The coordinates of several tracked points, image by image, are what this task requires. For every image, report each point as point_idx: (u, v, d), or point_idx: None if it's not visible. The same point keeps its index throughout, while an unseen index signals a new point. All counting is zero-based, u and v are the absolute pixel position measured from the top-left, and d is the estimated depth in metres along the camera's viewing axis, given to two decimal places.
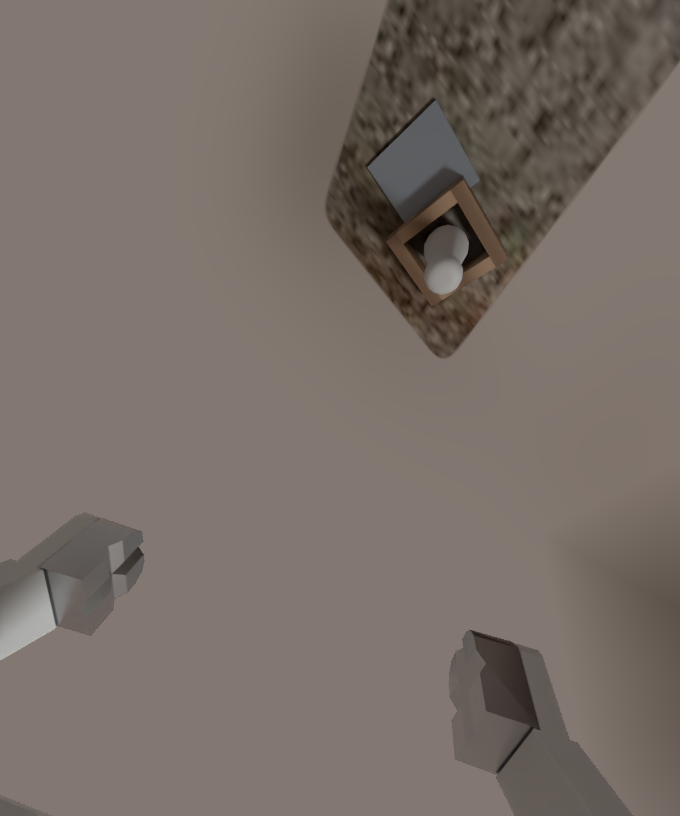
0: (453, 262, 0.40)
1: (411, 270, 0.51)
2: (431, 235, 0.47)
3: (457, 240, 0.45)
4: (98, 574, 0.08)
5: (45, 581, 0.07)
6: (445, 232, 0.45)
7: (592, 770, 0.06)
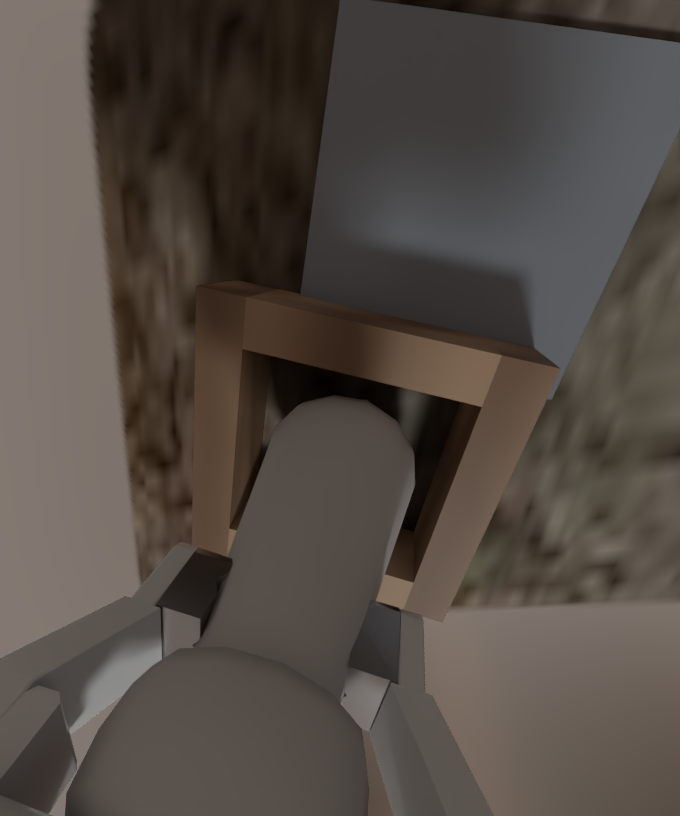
0: None
1: (206, 431, 0.14)
2: (336, 410, 0.12)
3: (395, 522, 0.11)
4: (210, 610, 0.07)
5: (160, 619, 0.07)
6: (380, 453, 0.11)
7: (440, 719, 0.06)
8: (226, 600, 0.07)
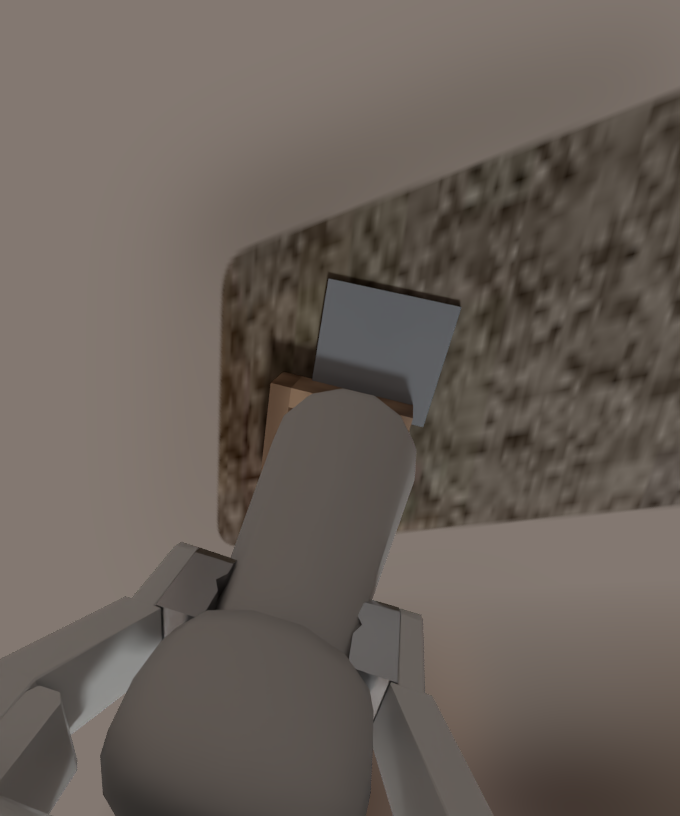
0: None
1: (270, 441, 0.31)
2: (345, 403, 0.13)
3: (397, 511, 0.11)
4: None
5: (161, 619, 0.07)
6: (387, 446, 0.12)
7: (440, 719, 0.06)
8: (245, 571, 0.07)
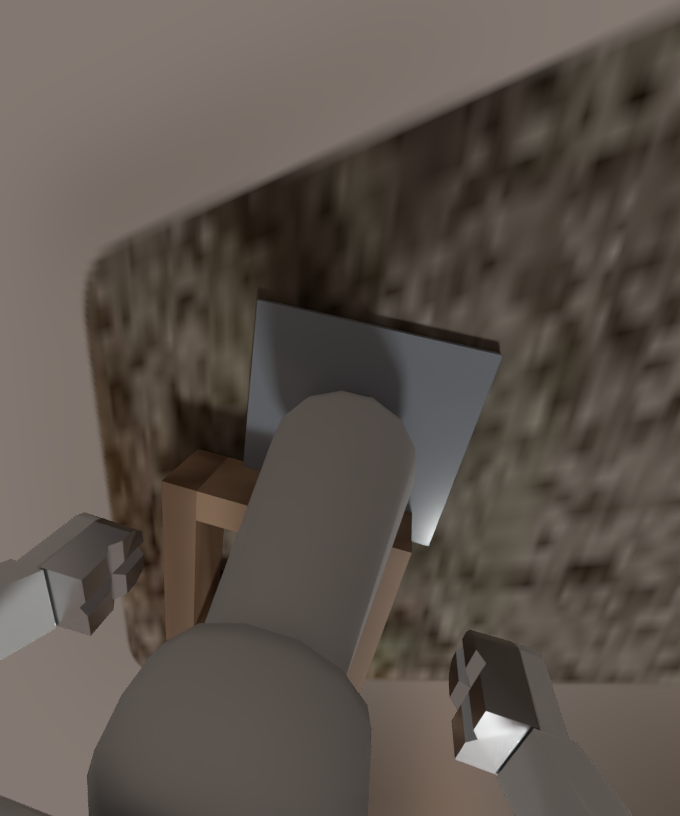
0: None
1: (173, 567, 0.18)
2: (344, 406, 0.13)
3: (397, 517, 0.11)
4: (98, 574, 0.08)
5: (45, 581, 0.07)
6: (386, 450, 0.12)
7: (592, 770, 0.06)
8: (240, 581, 0.07)
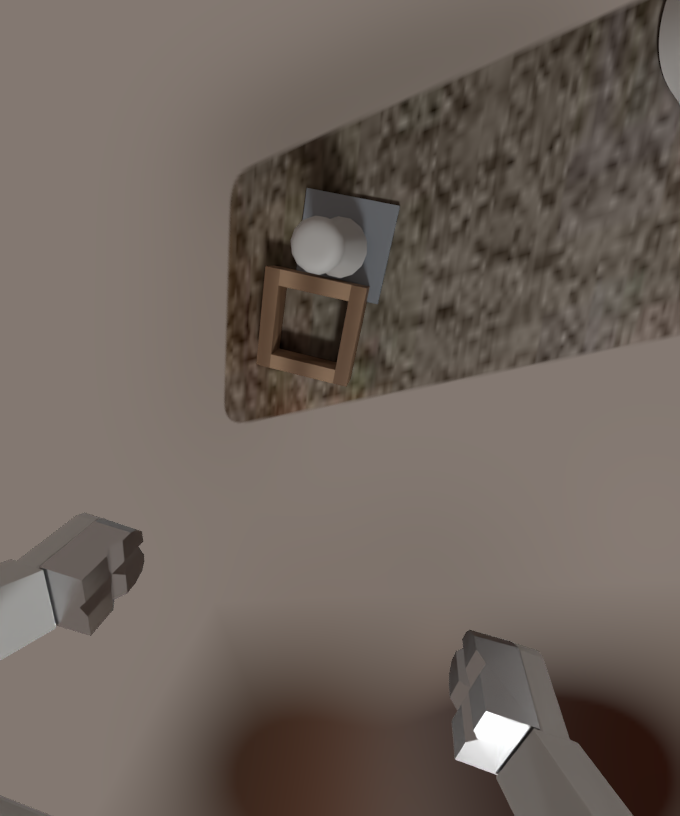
0: (339, 240, 0.28)
1: (265, 315, 0.42)
2: (340, 217, 0.36)
3: (357, 244, 0.34)
4: (98, 574, 0.08)
5: (45, 581, 0.07)
6: (354, 227, 0.35)
7: (592, 770, 0.06)
8: None
